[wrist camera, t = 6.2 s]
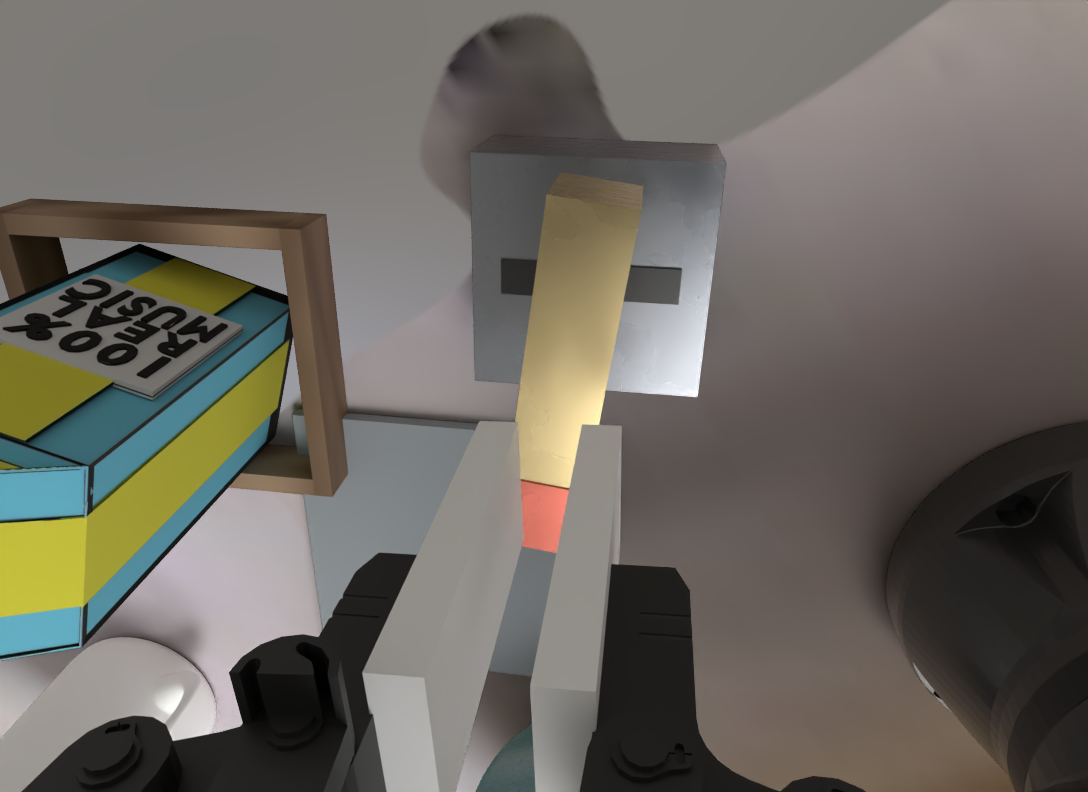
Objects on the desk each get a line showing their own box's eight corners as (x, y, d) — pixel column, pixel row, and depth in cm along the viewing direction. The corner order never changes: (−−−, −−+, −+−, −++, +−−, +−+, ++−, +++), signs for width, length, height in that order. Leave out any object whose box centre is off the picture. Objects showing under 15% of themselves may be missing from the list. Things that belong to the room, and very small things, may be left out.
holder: (326, 214, 30) (299, 229, 28) (353, 466, 35) (332, 497, 33) (30, 198, 31) (-18, 212, 29) (98, 444, 36) (62, 471, 34)
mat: (611, 434, 33) (610, 441, 32) (595, 674, 39) (594, 683, 38) (297, 408, 34) (292, 415, 34) (330, 644, 40) (326, 652, 40)
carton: (120, 230, 31) (-443, 451, 15) (300, 293, 32) (-68, 577, 16) (111, 382, 35) (-357, 694, 19) (274, 438, 35) (-50, 795, 19)
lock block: (717, 144, 27) (726, 163, 23) (692, 353, 30) (697, 398, 27) (493, 135, 28) (469, 153, 24) (495, 339, 31) (474, 381, 28)
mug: (291, 686, 42) (185, 881, 33) (161, 758, 47) (34, 948, 37) (176, 581, 40) (25, 758, 30) (50, 667, 44) (-116, 846, 35)
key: (579, 138, 23) (544, 194, 16) (647, 149, 23) (643, 211, 16) (538, 399, 27) (495, 541, 20) (596, 410, 27) (574, 556, 20)
